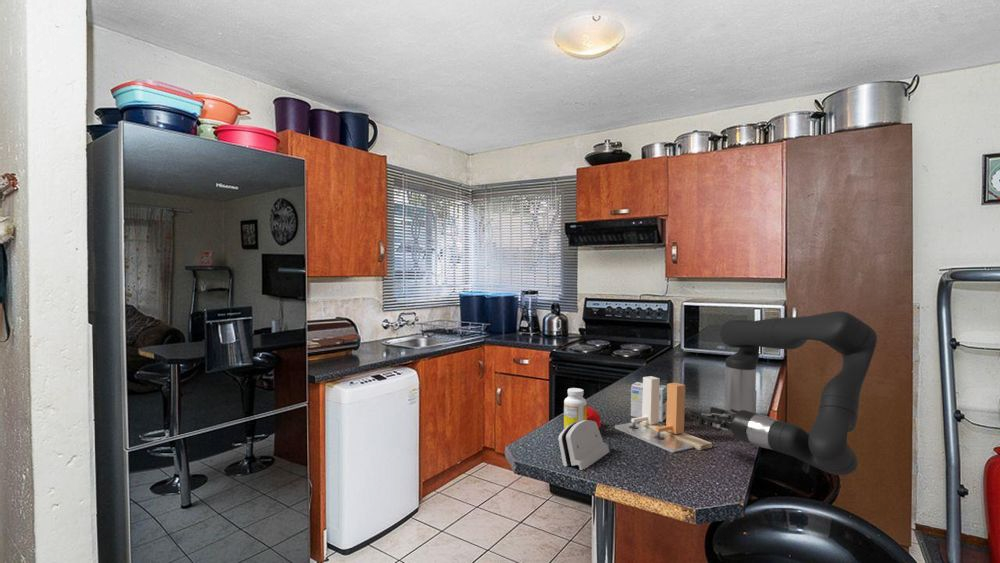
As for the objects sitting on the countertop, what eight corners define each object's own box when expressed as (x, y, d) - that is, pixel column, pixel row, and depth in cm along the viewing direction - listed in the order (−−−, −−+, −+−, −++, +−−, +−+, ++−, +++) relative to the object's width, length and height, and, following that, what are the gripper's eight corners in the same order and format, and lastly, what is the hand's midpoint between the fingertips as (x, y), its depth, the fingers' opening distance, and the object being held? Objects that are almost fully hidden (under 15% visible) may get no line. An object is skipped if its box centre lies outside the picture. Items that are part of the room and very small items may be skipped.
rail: (650, 424, 146) (650, 420, 146) (712, 447, 127) (712, 443, 127) (639, 426, 143) (639, 422, 143) (700, 450, 124) (700, 445, 124)
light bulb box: (667, 417, 154) (668, 385, 154) (662, 422, 148) (663, 389, 148) (635, 411, 159) (636, 381, 159) (629, 416, 154) (630, 384, 154)
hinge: (581, 471, 109) (569, 429, 111) (564, 473, 111) (553, 431, 113) (610, 451, 122) (599, 413, 124) (594, 453, 125) (584, 416, 127)
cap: (572, 417, 141) (589, 409, 138) (575, 406, 146) (591, 398, 143) (587, 437, 141) (603, 430, 139) (589, 425, 147) (605, 418, 144)
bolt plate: (633, 424, 145) (633, 421, 145) (692, 448, 126) (692, 444, 126) (614, 428, 141) (614, 425, 141) (672, 452, 122) (672, 449, 122)
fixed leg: (649, 420, 145) (651, 376, 145) (658, 424, 142) (659, 378, 142) (628, 424, 141) (629, 378, 141) (636, 428, 138) (638, 381, 138)
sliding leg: (674, 429, 137) (675, 382, 137) (683, 433, 134) (685, 385, 134) (652, 434, 132) (653, 385, 132) (661, 438, 129) (663, 388, 129)
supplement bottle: (579, 428, 140) (581, 386, 140) (589, 435, 134) (591, 392, 134) (559, 429, 138) (560, 387, 138) (569, 437, 132) (570, 393, 132)
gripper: (774, 411, 116) (717, 396, 130) (740, 418, 109) (683, 401, 123) (774, 440, 116) (716, 422, 130) (739, 449, 109) (683, 429, 123)
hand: (700, 412), depth 127 cm, fingers open, 8 cm apart
